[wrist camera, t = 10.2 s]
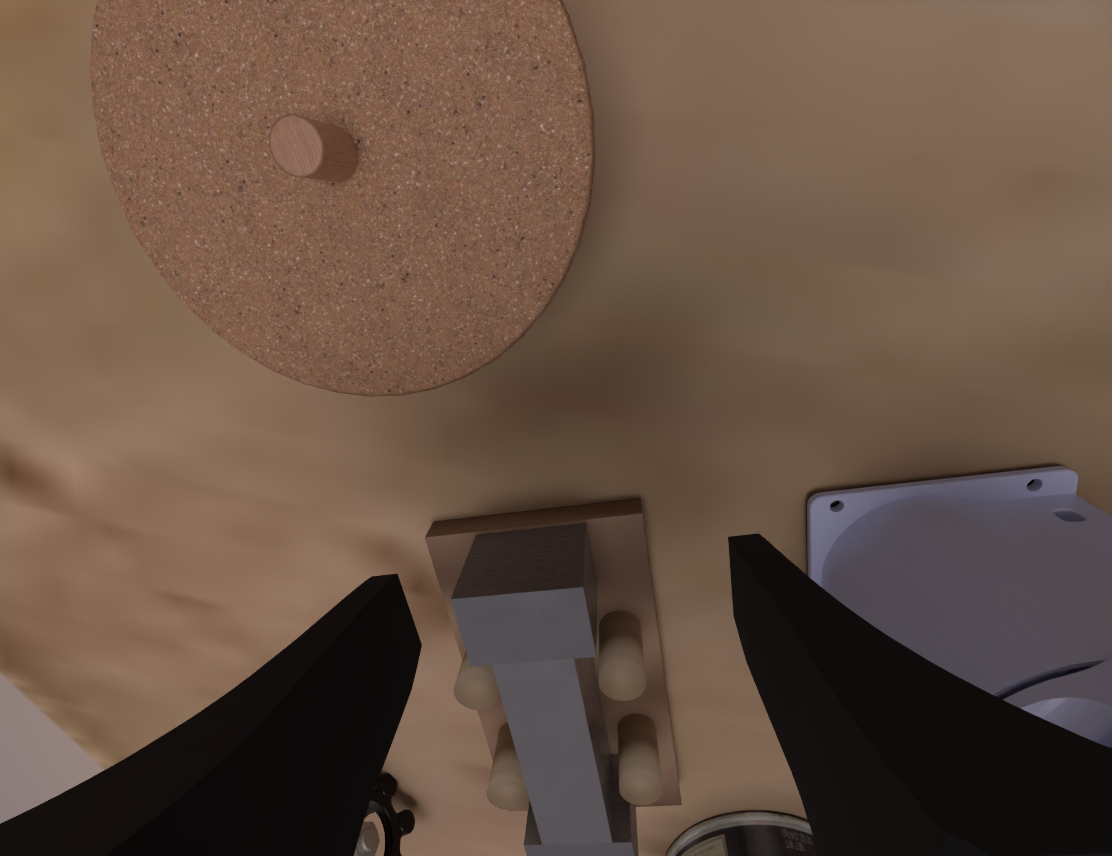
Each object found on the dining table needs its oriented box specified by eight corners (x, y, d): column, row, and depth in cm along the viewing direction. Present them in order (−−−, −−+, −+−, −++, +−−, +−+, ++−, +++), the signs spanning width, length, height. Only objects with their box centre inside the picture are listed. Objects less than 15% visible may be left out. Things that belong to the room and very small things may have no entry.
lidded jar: (365, 366, 21) (200, 472, 12) (230, 59, 18) (-133, -91, 9) (632, 286, 19) (657, 346, 11) (541, -77, 16) (466, -438, 7)
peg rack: (433, 522, 24) (400, 583, 20) (640, 498, 22) (648, 558, 18) (512, 788, 30) (498, 876, 26) (678, 781, 28) (690, 872, 24)
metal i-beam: (475, 534, 22) (450, 599, 18) (586, 522, 22) (582, 586, 18) (545, 798, 28) (536, 888, 24) (634, 795, 27) (640, 886, 23)
